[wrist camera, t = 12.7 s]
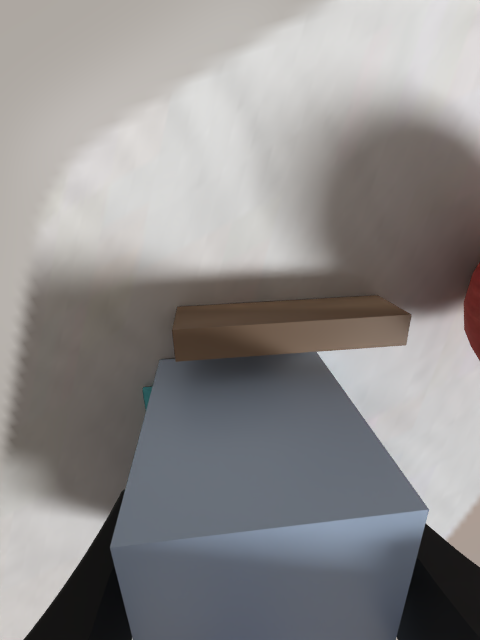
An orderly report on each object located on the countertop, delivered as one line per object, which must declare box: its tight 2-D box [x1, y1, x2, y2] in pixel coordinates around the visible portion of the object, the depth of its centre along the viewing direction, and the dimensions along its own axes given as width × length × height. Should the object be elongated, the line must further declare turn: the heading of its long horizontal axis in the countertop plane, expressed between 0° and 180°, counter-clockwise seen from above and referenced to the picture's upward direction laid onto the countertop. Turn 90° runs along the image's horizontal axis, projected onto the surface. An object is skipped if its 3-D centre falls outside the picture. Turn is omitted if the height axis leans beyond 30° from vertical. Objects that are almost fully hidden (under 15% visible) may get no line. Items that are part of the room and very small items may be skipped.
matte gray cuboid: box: [110, 352, 429, 640], centre depth 10 cm, size 9×6×7 cm, turn 1°
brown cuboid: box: [172, 295, 411, 362], centre depth 10 cm, size 1×7×2 cm, turn 92°
